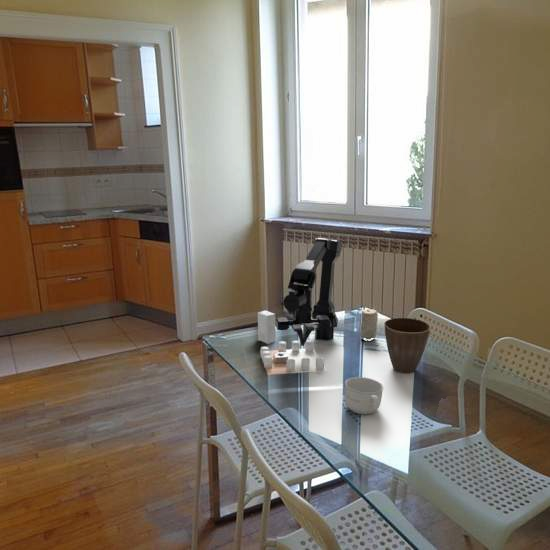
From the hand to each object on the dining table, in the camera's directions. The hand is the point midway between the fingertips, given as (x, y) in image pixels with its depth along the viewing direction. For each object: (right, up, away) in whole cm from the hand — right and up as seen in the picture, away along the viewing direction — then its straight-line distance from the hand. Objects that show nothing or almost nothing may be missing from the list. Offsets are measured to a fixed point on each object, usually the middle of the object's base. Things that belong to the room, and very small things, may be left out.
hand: (302, 345), depth 180 cm
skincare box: (-13, -1, +17) cm, 22 cm away
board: (-4, -6, -1) cm, 7 cm away
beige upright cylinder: (+27, -1, +22) cm, 35 cm away
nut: (-8, -5, -2) cm, 9 cm away
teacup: (+16, -15, -33) cm, 40 cm away
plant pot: (+34, -8, -5) cm, 36 cm away
